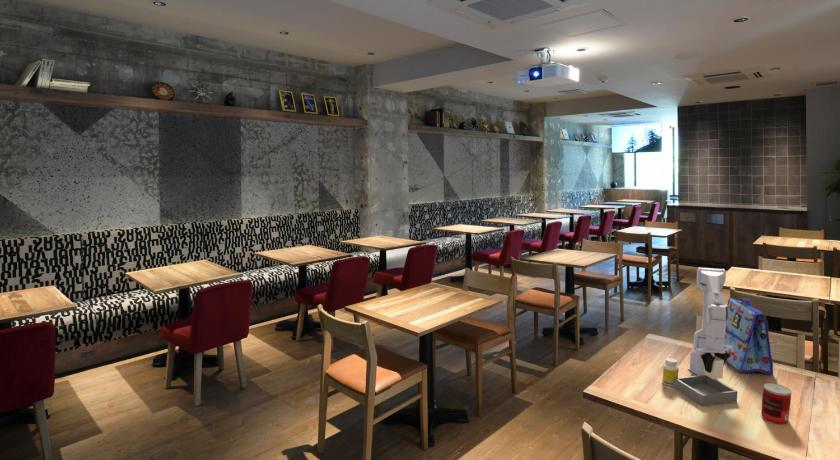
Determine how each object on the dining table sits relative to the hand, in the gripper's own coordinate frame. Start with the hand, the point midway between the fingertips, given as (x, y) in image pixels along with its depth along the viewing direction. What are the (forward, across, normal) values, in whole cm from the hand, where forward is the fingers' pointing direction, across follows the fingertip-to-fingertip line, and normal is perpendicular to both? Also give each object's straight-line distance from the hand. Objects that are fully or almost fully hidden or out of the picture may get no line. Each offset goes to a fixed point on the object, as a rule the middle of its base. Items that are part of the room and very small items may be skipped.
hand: (713, 371), depth 182 cm
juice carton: (+2, 0, 0) cm, 2 cm away
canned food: (+10, +7, -19) cm, 23 cm away
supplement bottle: (+10, -8, +12) cm, 17 cm away
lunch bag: (+10, +35, +20) cm, 41 cm away
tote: (+9, -3, +1) cm, 10 cm away
